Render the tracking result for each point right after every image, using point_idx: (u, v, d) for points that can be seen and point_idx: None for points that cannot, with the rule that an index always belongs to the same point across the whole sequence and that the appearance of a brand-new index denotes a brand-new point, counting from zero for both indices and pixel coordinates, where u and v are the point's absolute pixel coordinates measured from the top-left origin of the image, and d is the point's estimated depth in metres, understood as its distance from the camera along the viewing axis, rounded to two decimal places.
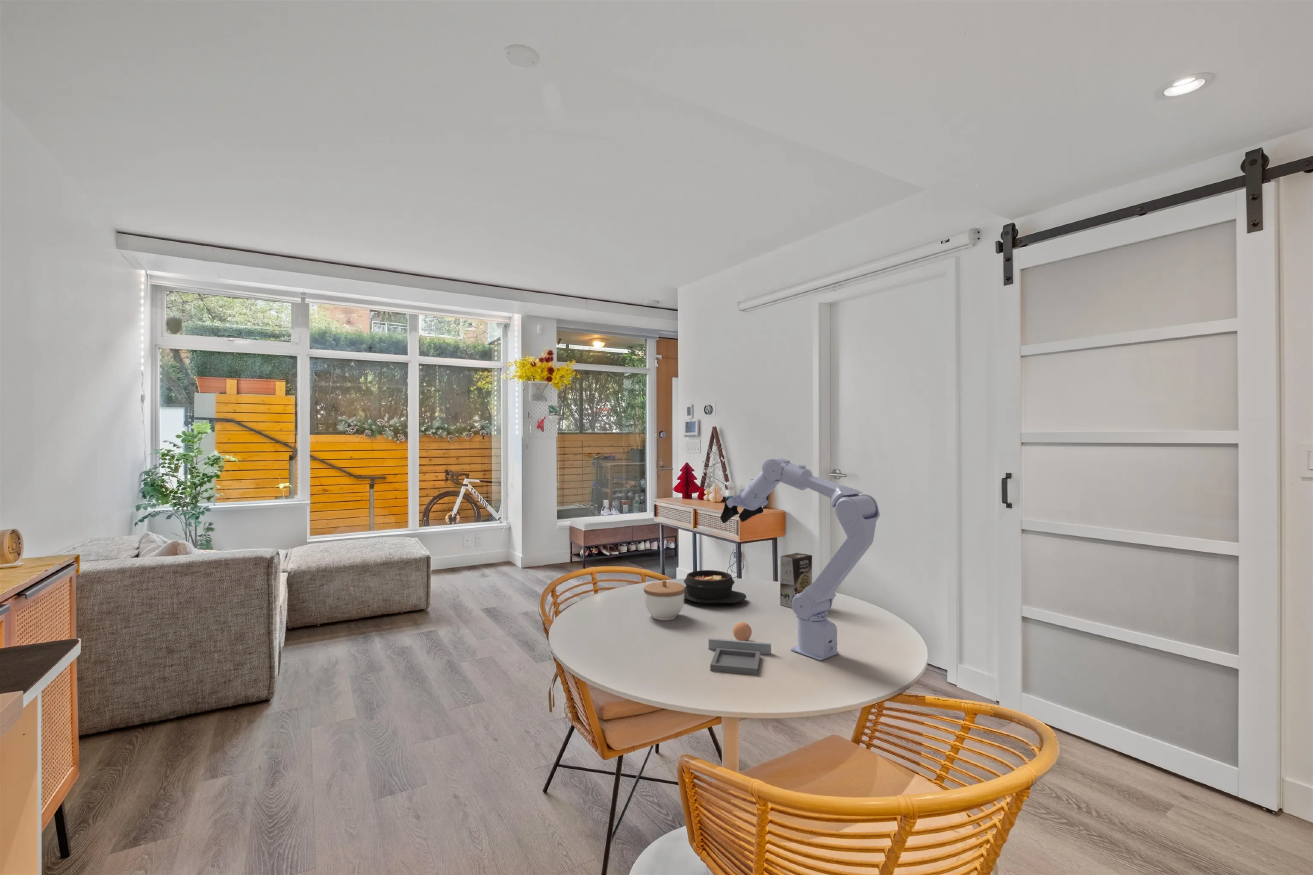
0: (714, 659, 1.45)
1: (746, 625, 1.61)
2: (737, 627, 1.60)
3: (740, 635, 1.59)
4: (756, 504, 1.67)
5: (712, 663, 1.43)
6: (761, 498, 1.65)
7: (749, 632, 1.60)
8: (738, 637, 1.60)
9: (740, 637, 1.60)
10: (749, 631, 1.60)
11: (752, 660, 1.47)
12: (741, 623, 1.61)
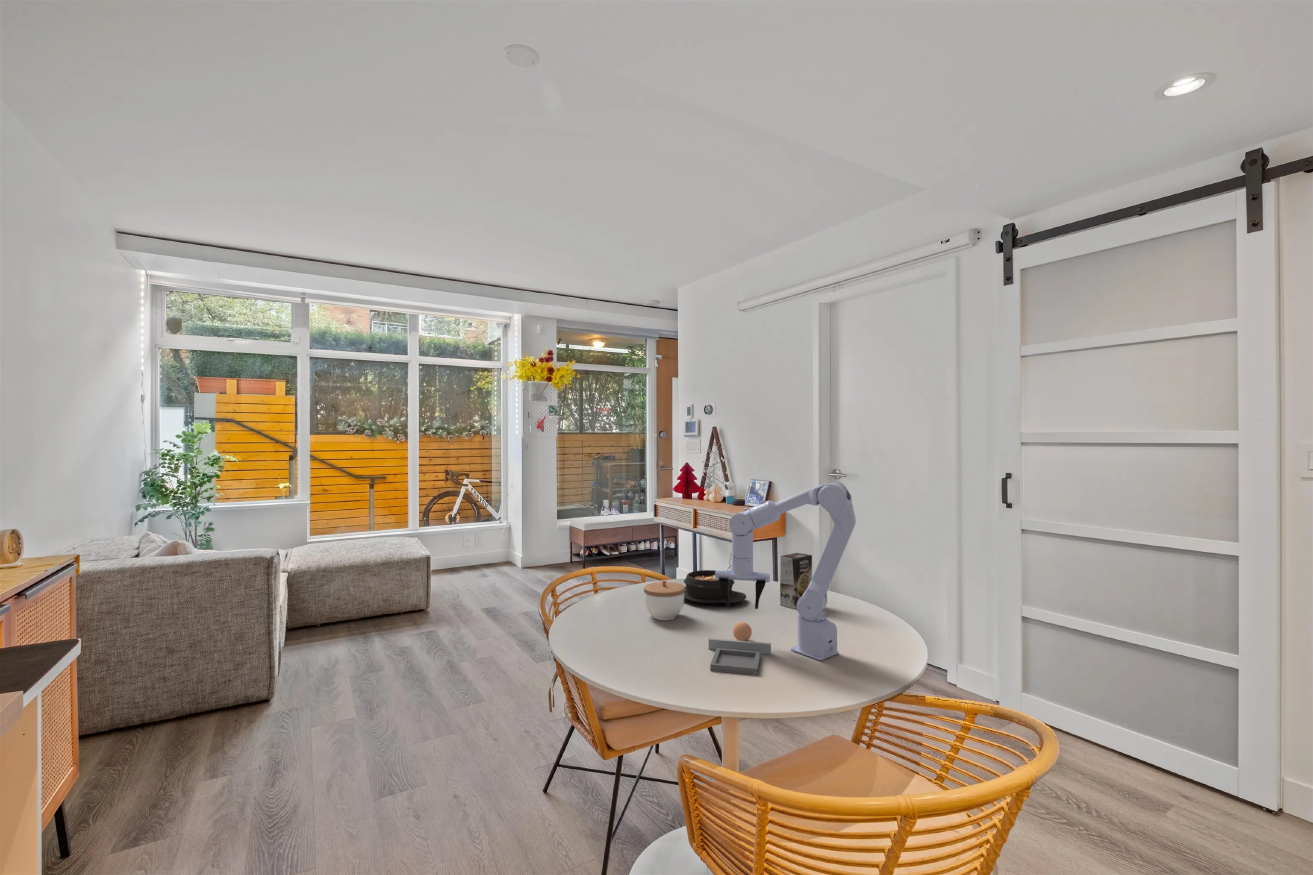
0: (714, 659, 1.45)
1: (746, 625, 1.61)
2: (737, 627, 1.60)
3: (740, 635, 1.59)
4: (739, 569, 1.59)
5: (712, 663, 1.43)
6: (739, 559, 1.59)
7: (749, 632, 1.60)
8: (738, 637, 1.60)
9: (740, 637, 1.60)
10: (749, 631, 1.60)
11: (752, 660, 1.47)
12: (741, 623, 1.61)
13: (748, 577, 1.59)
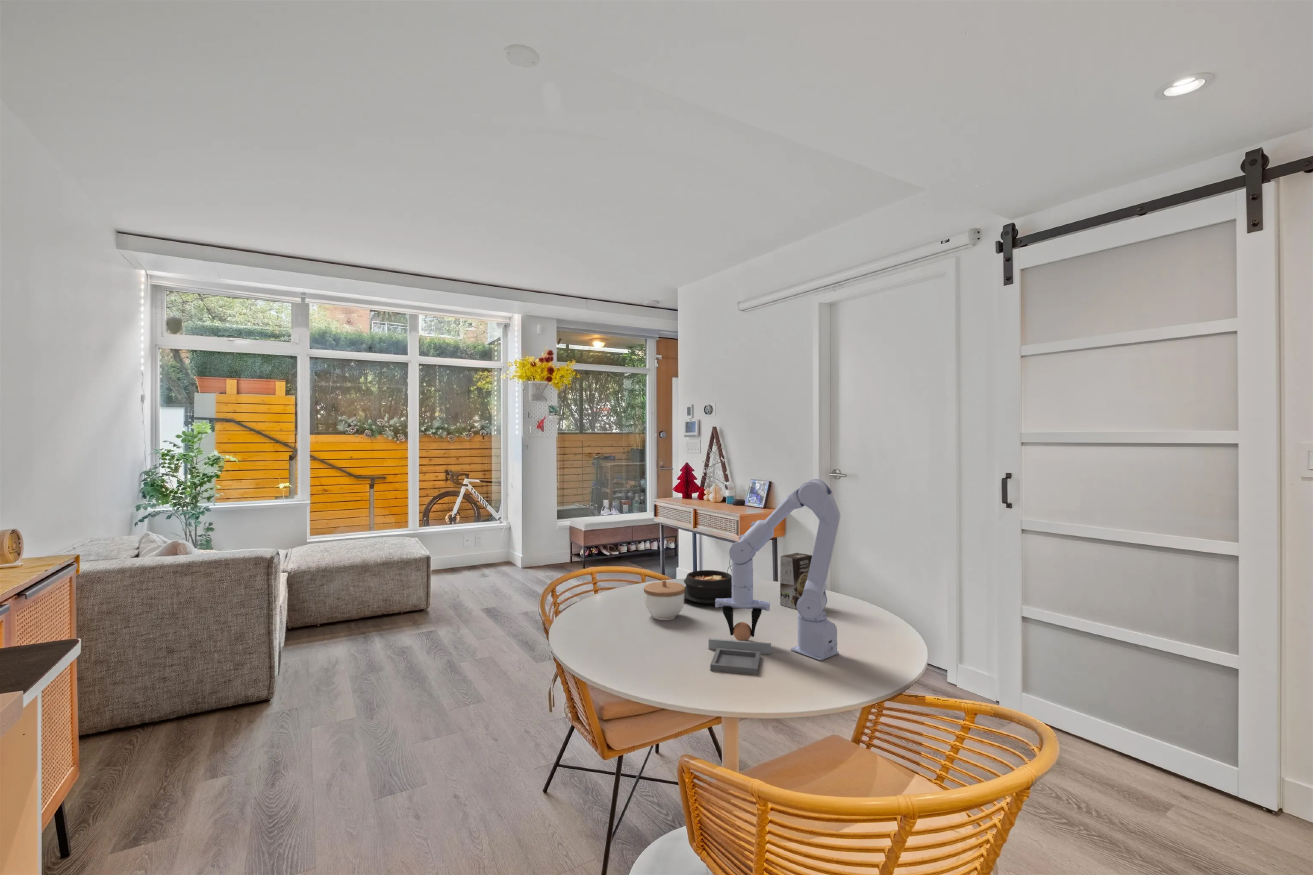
0: (714, 659, 1.45)
1: (746, 625, 1.61)
2: (737, 627, 1.60)
3: (740, 635, 1.59)
4: (739, 597, 1.59)
5: (712, 663, 1.43)
6: (739, 587, 1.59)
7: (749, 632, 1.60)
8: (738, 637, 1.60)
9: (740, 637, 1.60)
10: (749, 631, 1.60)
11: (752, 660, 1.47)
12: (741, 623, 1.61)
13: (748, 606, 1.59)
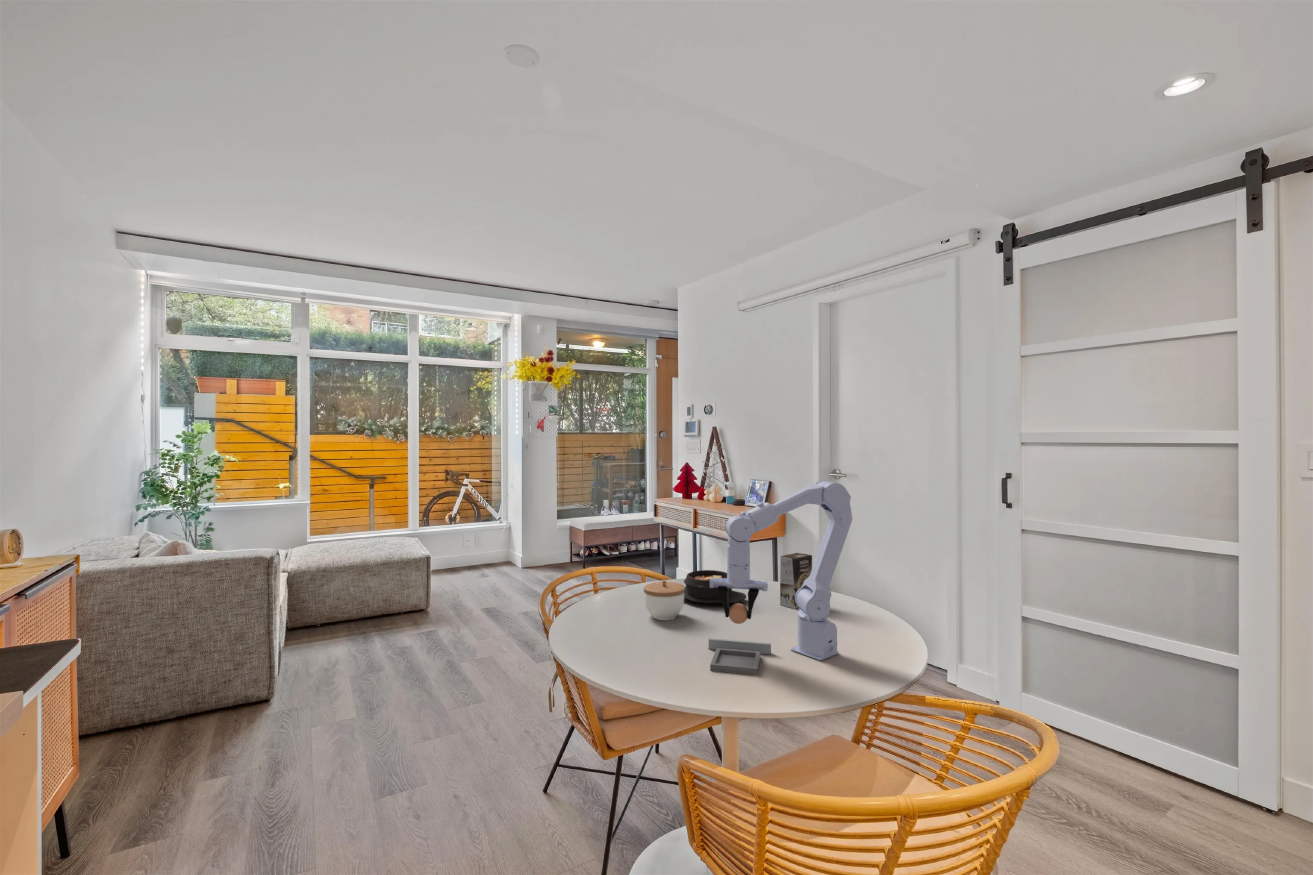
0: (714, 659, 1.45)
1: (742, 606, 1.51)
2: (733, 609, 1.51)
3: (736, 617, 1.50)
4: (735, 577, 1.50)
5: (712, 663, 1.43)
6: (735, 566, 1.50)
7: (745, 614, 1.51)
8: (734, 619, 1.51)
9: (736, 619, 1.50)
10: (745, 613, 1.51)
11: (752, 660, 1.47)
12: (737, 604, 1.52)
13: (744, 586, 1.49)
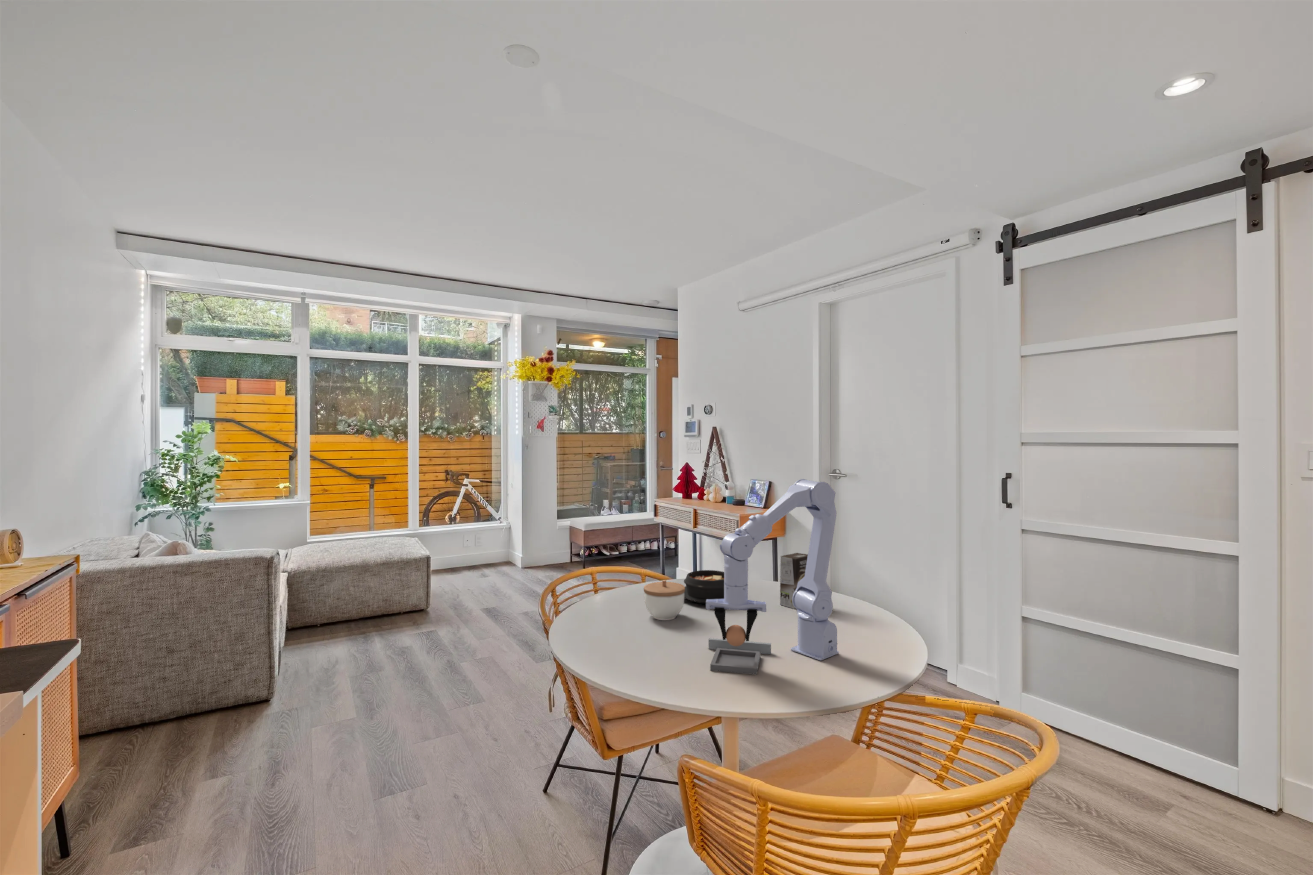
0: (714, 659, 1.45)
1: (740, 628, 1.45)
2: (731, 631, 1.45)
3: (734, 640, 1.44)
4: (734, 597, 1.43)
5: (712, 663, 1.43)
6: (733, 586, 1.43)
7: (744, 636, 1.45)
8: (732, 642, 1.44)
9: (734, 642, 1.44)
10: (744, 635, 1.45)
11: (752, 660, 1.47)
12: (735, 626, 1.45)
13: (743, 607, 1.43)
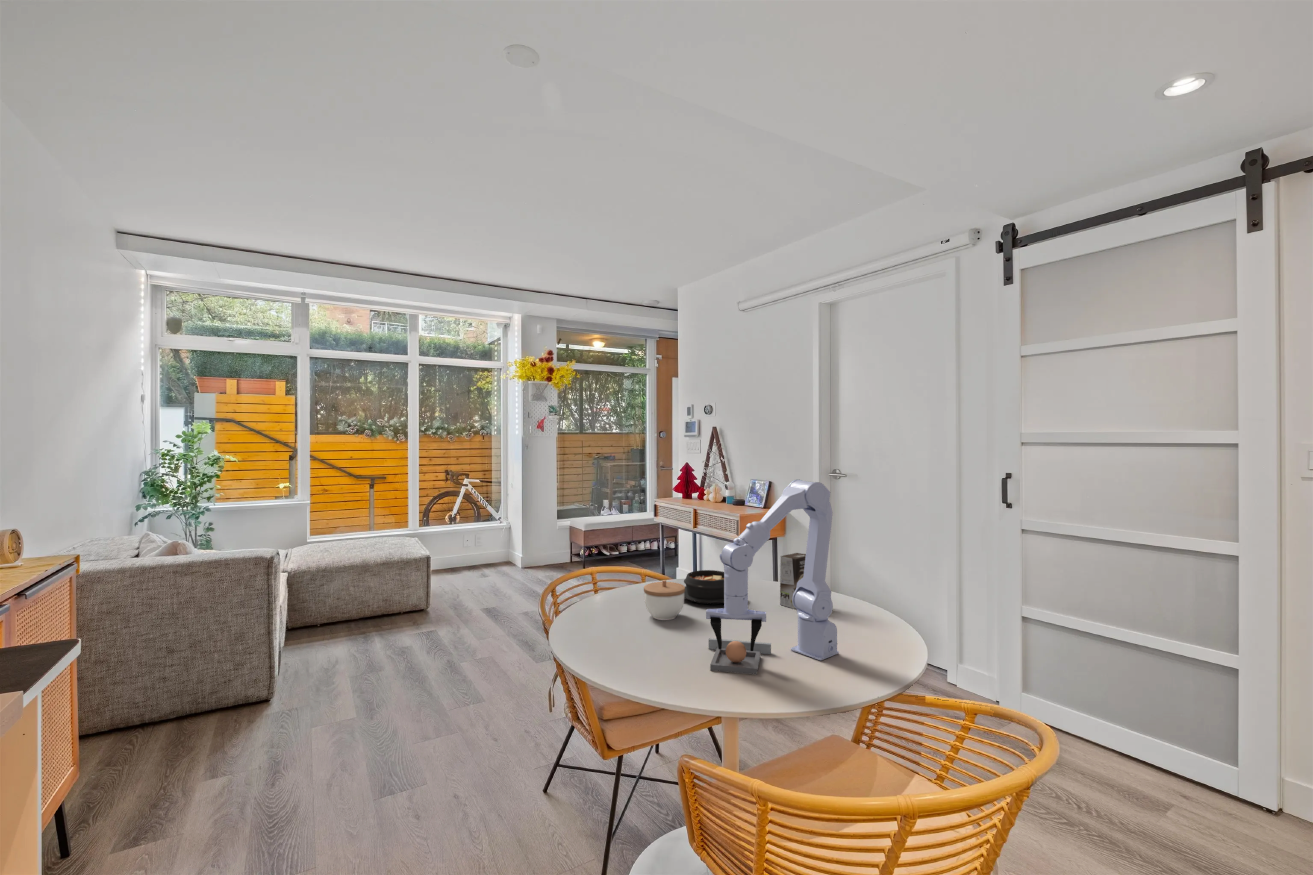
0: (714, 659, 1.45)
1: (740, 644, 1.45)
2: (731, 647, 1.45)
3: (734, 656, 1.44)
4: (734, 607, 1.43)
5: (712, 663, 1.43)
6: (733, 596, 1.43)
7: (744, 652, 1.45)
8: (732, 658, 1.44)
9: (734, 658, 1.44)
10: (744, 651, 1.45)
11: (752, 660, 1.47)
12: (735, 642, 1.46)
13: (743, 617, 1.43)
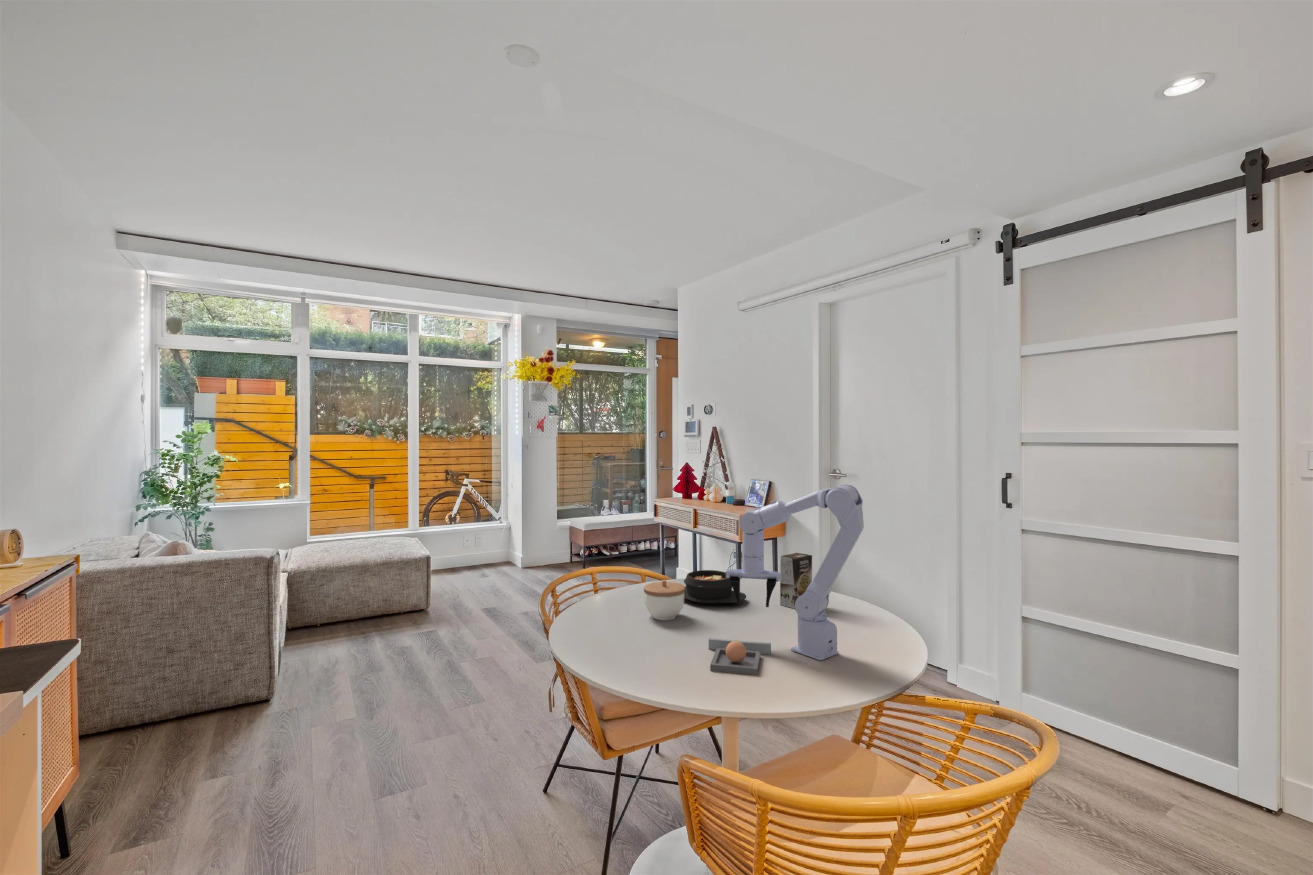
0: (714, 659, 1.45)
1: (740, 645, 1.45)
2: (731, 647, 1.45)
3: (734, 656, 1.44)
4: (750, 567, 1.60)
5: (712, 663, 1.43)
6: (750, 557, 1.60)
7: (744, 652, 1.45)
8: (732, 658, 1.44)
9: (734, 658, 1.44)
10: (744, 651, 1.45)
11: (752, 660, 1.47)
12: (735, 642, 1.46)
13: (759, 575, 1.59)
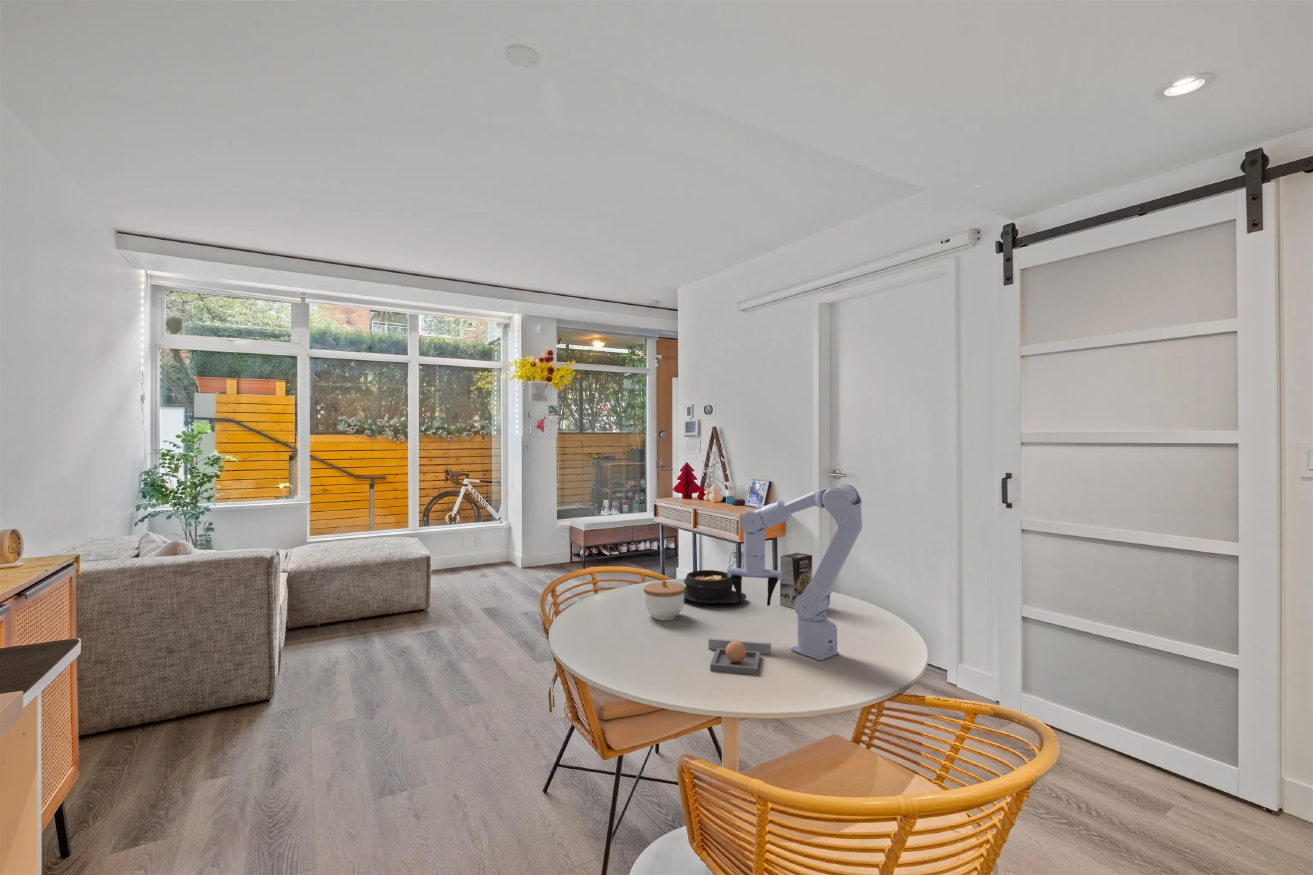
0: (714, 659, 1.45)
1: (740, 645, 1.45)
2: (731, 647, 1.45)
3: (734, 656, 1.44)
4: (752, 566, 1.61)
5: (712, 663, 1.43)
6: (751, 556, 1.61)
7: (744, 652, 1.45)
8: (732, 658, 1.44)
9: (734, 659, 1.44)
10: (744, 651, 1.45)
11: (752, 660, 1.47)
12: (735, 642, 1.46)
13: (760, 574, 1.61)
